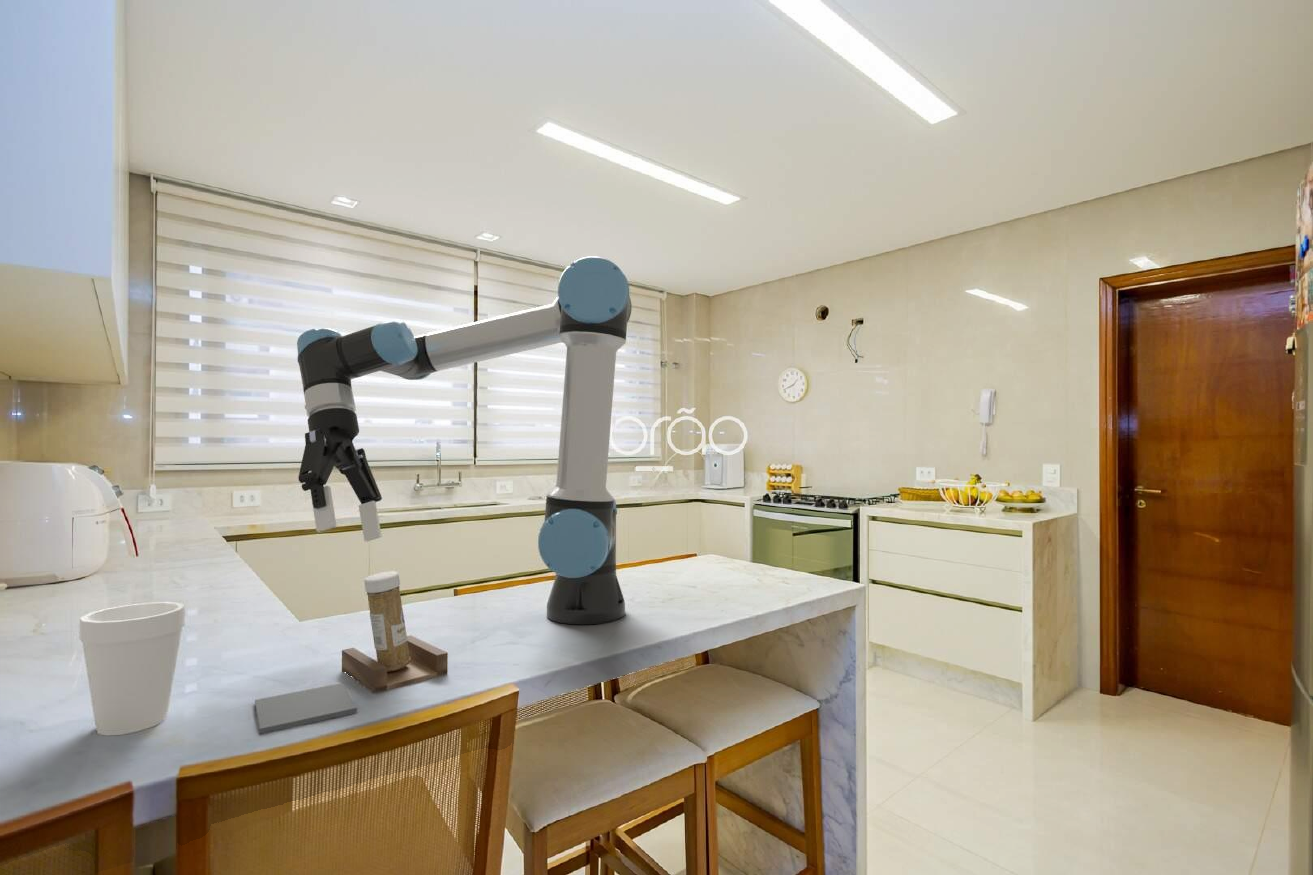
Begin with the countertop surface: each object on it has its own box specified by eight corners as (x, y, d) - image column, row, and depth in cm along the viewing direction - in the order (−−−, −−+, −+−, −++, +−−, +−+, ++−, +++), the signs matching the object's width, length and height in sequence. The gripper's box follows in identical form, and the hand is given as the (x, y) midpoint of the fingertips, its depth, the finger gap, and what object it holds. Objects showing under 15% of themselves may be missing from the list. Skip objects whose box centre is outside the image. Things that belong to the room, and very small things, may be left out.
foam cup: (70, 749, 67) (73, 627, 67) (83, 719, 74) (85, 609, 75) (182, 726, 73) (184, 613, 73) (184, 700, 80) (185, 598, 80)
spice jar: (414, 665, 90) (401, 573, 89) (379, 676, 87) (366, 582, 86) (407, 656, 93) (395, 568, 92) (374, 666, 91) (361, 575, 90)
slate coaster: (342, 687, 85) (342, 682, 85) (356, 712, 76) (356, 707, 76) (254, 704, 79) (255, 699, 79) (260, 733, 71) (260, 728, 71)
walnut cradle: (410, 654, 98) (411, 635, 98) (447, 673, 90) (447, 652, 90) (341, 670, 91) (341, 650, 91) (374, 693, 82) (374, 670, 82)
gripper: (351, 441, 119) (369, 548, 113) (260, 398, 95) (278, 532, 89) (388, 429, 119) (409, 536, 113) (308, 383, 95) (328, 516, 89)
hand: (351, 534), depth 101 cm, fingers open, 13 cm apart
